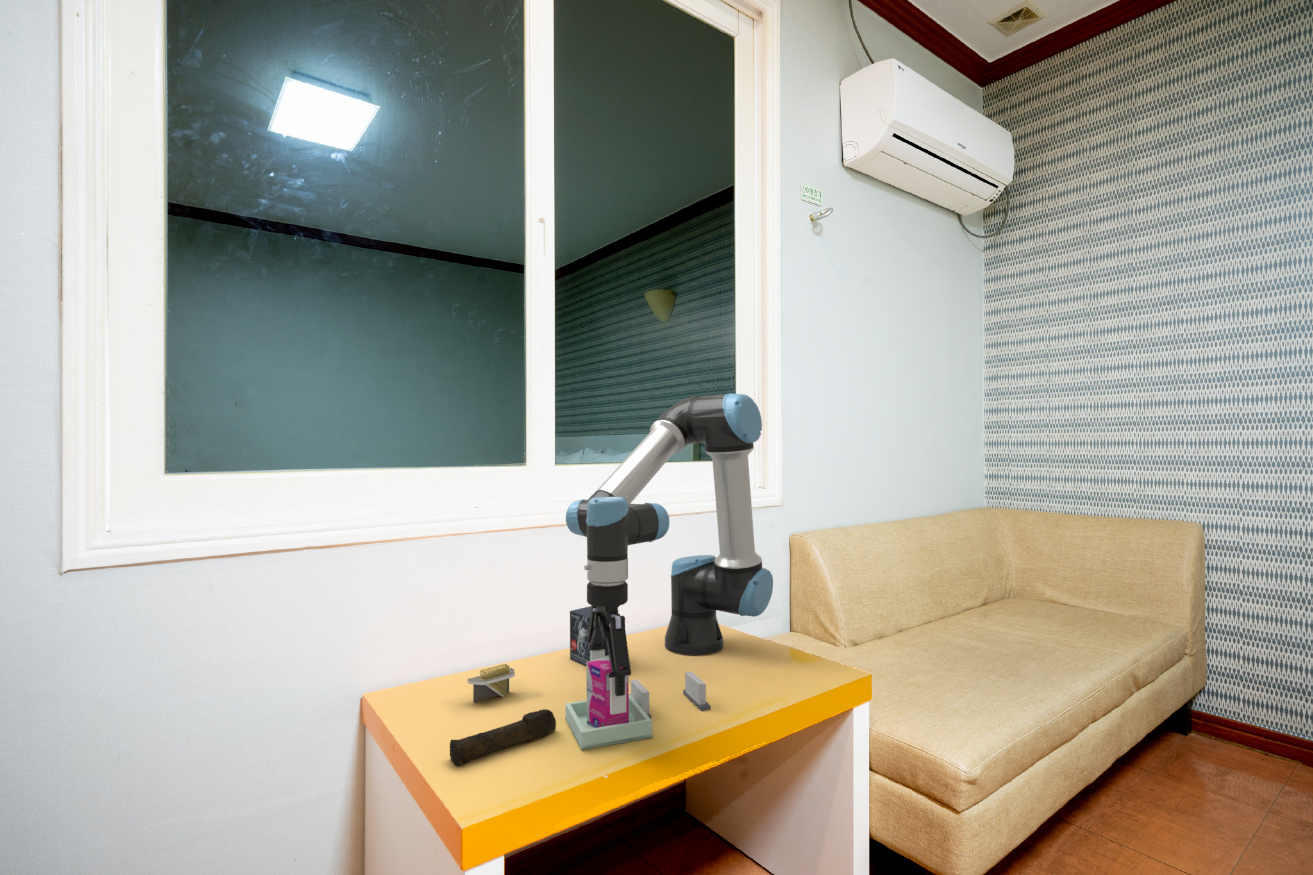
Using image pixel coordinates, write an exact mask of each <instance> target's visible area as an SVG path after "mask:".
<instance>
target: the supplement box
mask: <svg viewBox="0 0 1313 875" xmlns="http://www.w3.org/2000/svg"><path fill="white" fill-rule="evenodd" d="M585 667H586V668H585V669H586V700H587V723H588V724H590V725H592V726H594V727H595V728H599V727H605V726H611V725H617V724H623V723H629V694H630V693H629V686H630V685H629V675H628V676H626V712H624V713H618V714H612V715H611V713H610V678H609V677H608V675H609V673H612V670H611V665H610V659H609V655H608V656H605V657H602V658H599V659H596V660H593V661H589V662H587V663H586V666H585ZM620 669H622V668H620Z"/></svg>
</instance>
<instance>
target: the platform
mask: <svg viewBox="0 0 1313 875" xmlns="http://www.w3.org/2000/svg"><path fill="white" fill-rule="evenodd" d="M515 672H516V671H515V669H514V668H512V667H510V665H509V664H507V663H504V664H500V665H495V666H491V667H487V668H483V669H480V670H479V675H477V676H473V677H470V678H467V680H466V683H468V684H469V685H472V688H473V694H472V696H473V698H472V700H473V704H474V703H477V702H480V701H485V700H488V699H491V698H495V697H497V696H498V697H499V696H501V697H502V698H505V697H507V694H508V693H510V679H512V678H514V677H515Z"/></svg>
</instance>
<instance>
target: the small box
mask: <svg viewBox="0 0 1313 875" xmlns="http://www.w3.org/2000/svg"><path fill="white" fill-rule="evenodd" d="M590 616H591V605H590V606H585V607H581V608H577V609H572V610H570V611H569V659H570V660H572V661H574V662H576V663H579V664H581V665H583V666H584V667H587V666H586V663H587V662H589V661H590V651H592V649H590V647H589V644H590V643H588V642H587V637H588V630H589V623H590ZM616 630H617V629H616ZM605 643H606V640H605ZM601 649H604V650H605V656H608V655H609V654H608V649H607V643H606V648H601Z"/></svg>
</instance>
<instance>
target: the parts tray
mask: <svg viewBox="0 0 1313 875" xmlns="http://www.w3.org/2000/svg"><path fill="white" fill-rule="evenodd" d="M564 707H565V709H564V711H565V712H564V713H565V714H564V715H565V717H564V719H565V722H566V723H567V726H568V727H569V729H570V731H571V734H572V736H573V737H574V739H575V741H576V742H577V745H578V747H579V748H580V750H581V751H587V750H590V749H591V750H592V749H596V748H602V747H607V746H615V745H620V744H625V743H629V742H630V743H632V742H635V741H641V740H646V739H651V738H653V720H652V718H651V719H650V718H649V716H648V715H647V714H646V713H645V712H644V710H643V709H642V708H641V707H640V706H639V704H638V703H637V702H636V701H635V700H634V698H633V697H632V696H631V693H629V723H623V724H617V725H611V726H605V727H599V728H595V727H594V726H592V725H590V724H588V723H587V699H584V700H578V701H572V702H565V705H564Z"/></svg>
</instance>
